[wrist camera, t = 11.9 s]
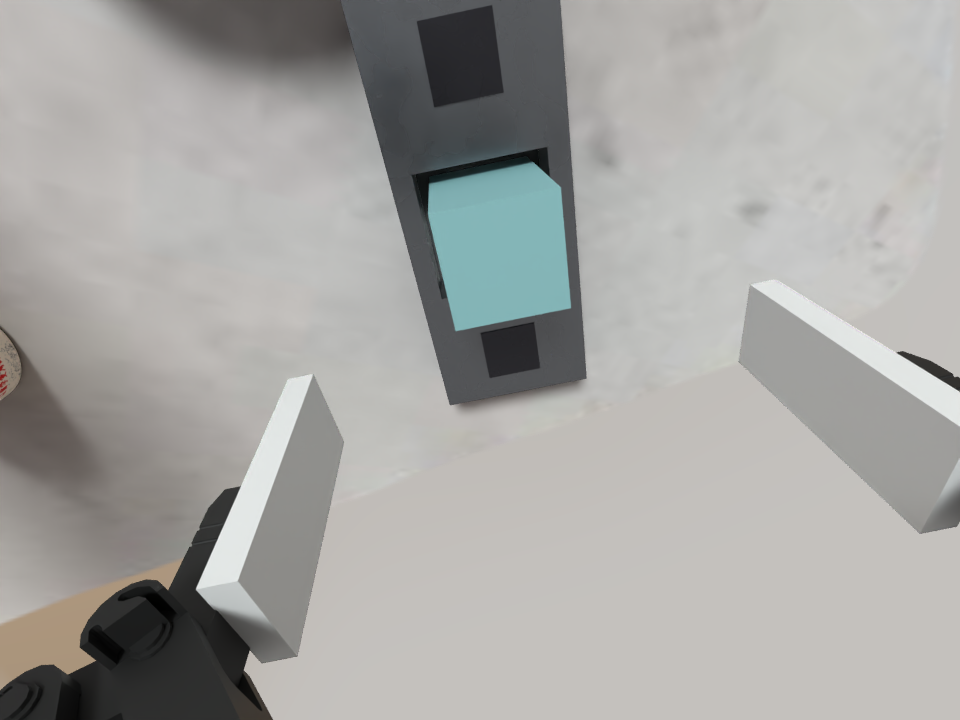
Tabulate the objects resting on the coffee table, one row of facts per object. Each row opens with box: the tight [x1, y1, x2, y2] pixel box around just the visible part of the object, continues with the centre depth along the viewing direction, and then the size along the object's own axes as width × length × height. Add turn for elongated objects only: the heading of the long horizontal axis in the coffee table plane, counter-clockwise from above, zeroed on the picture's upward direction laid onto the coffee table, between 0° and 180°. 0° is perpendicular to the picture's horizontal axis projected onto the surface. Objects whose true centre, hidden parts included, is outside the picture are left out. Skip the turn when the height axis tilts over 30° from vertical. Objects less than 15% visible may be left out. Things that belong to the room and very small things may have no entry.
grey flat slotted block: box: [341, 0, 586, 405], centre depth 29 cm, size 24×10×3 cm, turn 10°
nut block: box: [428, 156, 571, 331], centre depth 26 cm, size 6×6×9 cm
